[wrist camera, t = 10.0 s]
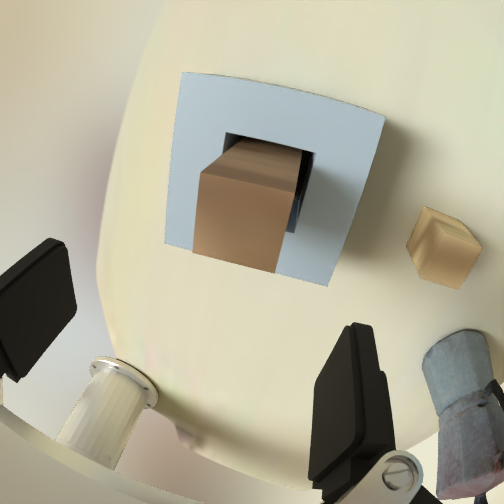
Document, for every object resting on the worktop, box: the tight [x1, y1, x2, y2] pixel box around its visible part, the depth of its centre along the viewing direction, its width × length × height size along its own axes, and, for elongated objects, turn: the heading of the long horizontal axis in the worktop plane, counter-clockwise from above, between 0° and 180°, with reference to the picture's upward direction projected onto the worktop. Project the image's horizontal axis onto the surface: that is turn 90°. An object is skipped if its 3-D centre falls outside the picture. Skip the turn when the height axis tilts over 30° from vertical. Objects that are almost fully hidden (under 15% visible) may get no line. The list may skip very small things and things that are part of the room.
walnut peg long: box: [192, 136, 303, 273], centre depth 19 cm, size 4×4×12 cm
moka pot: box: [422, 330, 504, 504], centre depth 22 cm, size 10×15×20 cm, turn 14°
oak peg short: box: [406, 206, 482, 290], centre depth 22 cm, size 4×4×5 cm
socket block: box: [165, 72, 386, 286], centre depth 21 cm, size 12×12×6 cm
